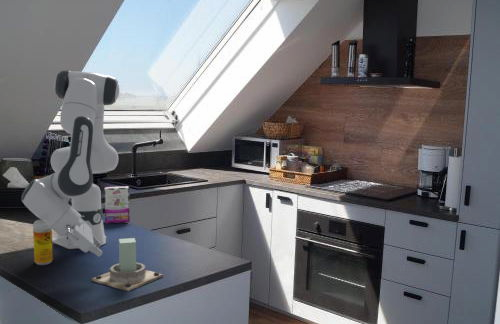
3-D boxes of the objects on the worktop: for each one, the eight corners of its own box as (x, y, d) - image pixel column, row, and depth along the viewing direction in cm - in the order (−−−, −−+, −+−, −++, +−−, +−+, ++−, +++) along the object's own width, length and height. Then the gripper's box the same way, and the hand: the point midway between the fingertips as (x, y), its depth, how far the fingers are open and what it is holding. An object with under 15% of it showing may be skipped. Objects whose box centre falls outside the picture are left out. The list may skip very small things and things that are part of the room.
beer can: (42, 266, 188) (41, 224, 186) (30, 263, 191) (29, 221, 189) (56, 261, 193) (55, 220, 191) (44, 259, 196) (43, 218, 194)
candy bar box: (129, 220, 255) (129, 185, 253) (129, 222, 250) (129, 187, 248) (105, 221, 253) (104, 186, 250) (104, 223, 248) (104, 188, 246)
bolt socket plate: (91, 280, 175) (91, 269, 174) (127, 267, 188) (127, 256, 188) (128, 291, 166) (127, 279, 166) (163, 276, 180) (162, 265, 179)
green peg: (120, 279, 174) (120, 243, 172) (119, 274, 179) (118, 239, 177) (136, 278, 175) (136, 242, 174) (134, 273, 180) (134, 238, 179)
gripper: (74, 222, 159) (109, 252, 164) (74, 208, 179) (105, 234, 183) (58, 238, 159) (94, 267, 163) (60, 222, 178) (92, 248, 182)
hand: (100, 250), depth 173 cm, fingers open, 8 cm apart
